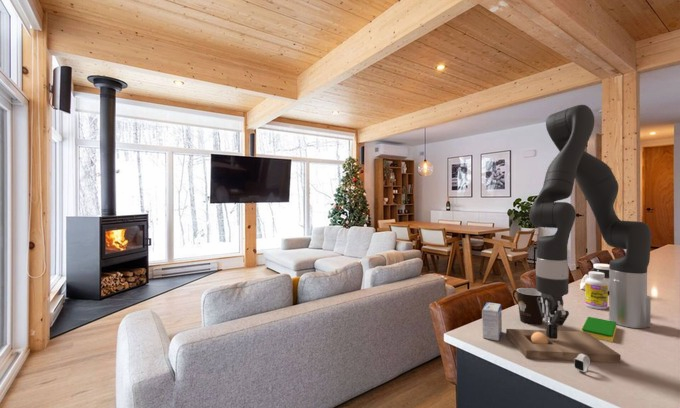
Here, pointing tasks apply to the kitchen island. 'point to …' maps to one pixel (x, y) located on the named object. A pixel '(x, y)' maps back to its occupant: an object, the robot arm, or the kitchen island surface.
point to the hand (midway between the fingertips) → (551, 337)
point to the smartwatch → (582, 362)
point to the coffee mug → (528, 306)
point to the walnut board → (562, 346)
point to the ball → (539, 338)
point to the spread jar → (597, 268)
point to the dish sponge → (600, 328)
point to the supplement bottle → (596, 291)
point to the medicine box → (492, 321)
